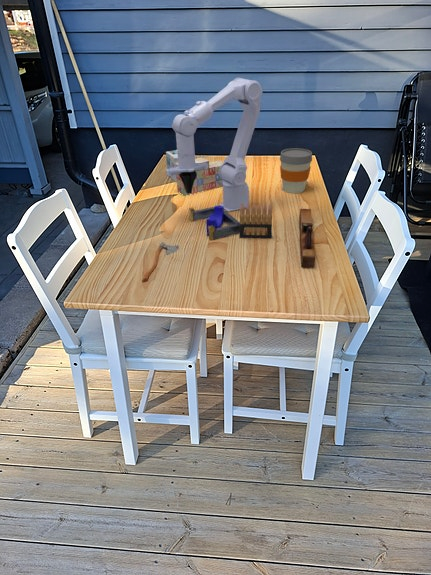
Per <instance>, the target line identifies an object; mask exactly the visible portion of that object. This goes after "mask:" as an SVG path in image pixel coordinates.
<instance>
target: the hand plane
mask: <svg viewBox="0 0 431 575" xmlns="http://www.w3.org/2000/svg"><path fill="white" fill-rule="evenodd" d="M298 220H299V221H298V224H299V228H298V229H299V239H298V240H299V250H300V252H299V253H300V256H299V257H300V267H301V268H303V269H315V261H316V251H315V242H314V241H315V240H314V231H313V229H314V228H313V227H314V226H313V219H312V209H311V208H300V209H299V218H298Z"/></svg>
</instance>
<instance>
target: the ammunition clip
mask: <svg viewBox="0 0 431 575" xmlns="http://www.w3.org/2000/svg"><path fill="white" fill-rule="evenodd" d="M249 205H250V202H249V203H248V204H247V207H246V208H244V205H243V203H242V204H241V209H239V210H240V212H239V213H240V214H239V222H240V233H238V234H239V236H238V237H239V239H263V240H265V239H266V240H268V239H273V236H272V234H273V233H272V231H273V228H272V227H273V206H272V203H269V205H268V208H267V205H266V203H263V205H262V207H261V203H260V202H259V203H258V204H257V210H256V204H255V203H254V202H253V203H252V205H251V207H249Z"/></svg>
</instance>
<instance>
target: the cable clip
mask: <svg viewBox="0 0 431 575" xmlns="http://www.w3.org/2000/svg"><path fill="white" fill-rule="evenodd" d="M213 207H214V213H211V215H210V217H209V218H206V221H205V222H206V223H205V224H206V236H207V237H209V229H208V226H211V225H213V226H214V227H215V229H216V228H220V227H223V225H224V223H225V222H224V210H225V209H224V206H220V205H215V206H213Z"/></svg>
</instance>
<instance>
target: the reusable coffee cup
mask: <svg viewBox="0 0 431 575" xmlns="http://www.w3.org/2000/svg"><path fill="white" fill-rule="evenodd" d="M279 161H280V166H279V169H280V179H281V183H282V184H281V185H282V191H284V193H288V194H300V193H303V192H304V191H305V189H306V185H307V180H309V177H310V172H311V163H312V161H313V153H312V151H311V150H309V149H307V148H299V147H295V148H293V147H292V148H285V149H283V150H281V152H280V158H279Z"/></svg>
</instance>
